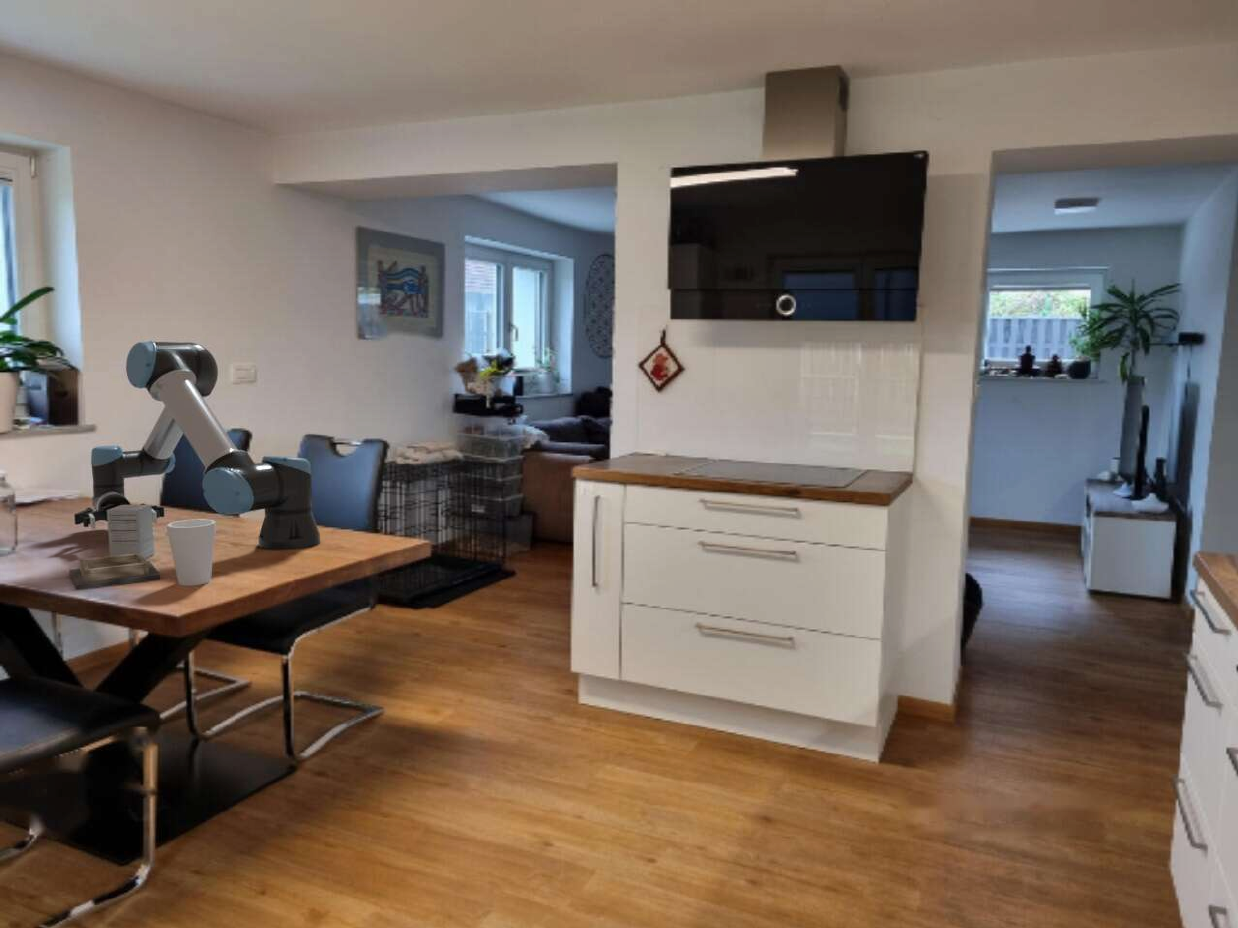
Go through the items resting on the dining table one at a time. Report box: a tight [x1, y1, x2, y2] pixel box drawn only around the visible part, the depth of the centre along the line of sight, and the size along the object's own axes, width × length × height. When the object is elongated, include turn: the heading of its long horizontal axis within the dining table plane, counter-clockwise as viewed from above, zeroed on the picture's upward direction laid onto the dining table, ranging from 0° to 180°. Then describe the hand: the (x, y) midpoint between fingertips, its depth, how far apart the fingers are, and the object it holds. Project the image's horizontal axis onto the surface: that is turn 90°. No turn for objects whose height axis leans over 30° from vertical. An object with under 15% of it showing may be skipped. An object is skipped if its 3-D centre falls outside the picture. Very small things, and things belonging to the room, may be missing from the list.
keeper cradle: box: [68, 553, 162, 591], centre depth 192 cm, size 16×16×4 cm
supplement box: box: [107, 504, 155, 560], centre depth 210 cm, size 7×7×13 cm
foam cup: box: [166, 518, 217, 587], centre depth 188 cm, size 10×9×13 cm
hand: (124, 520), depth 217 cm, fingers open, 13 cm apart
